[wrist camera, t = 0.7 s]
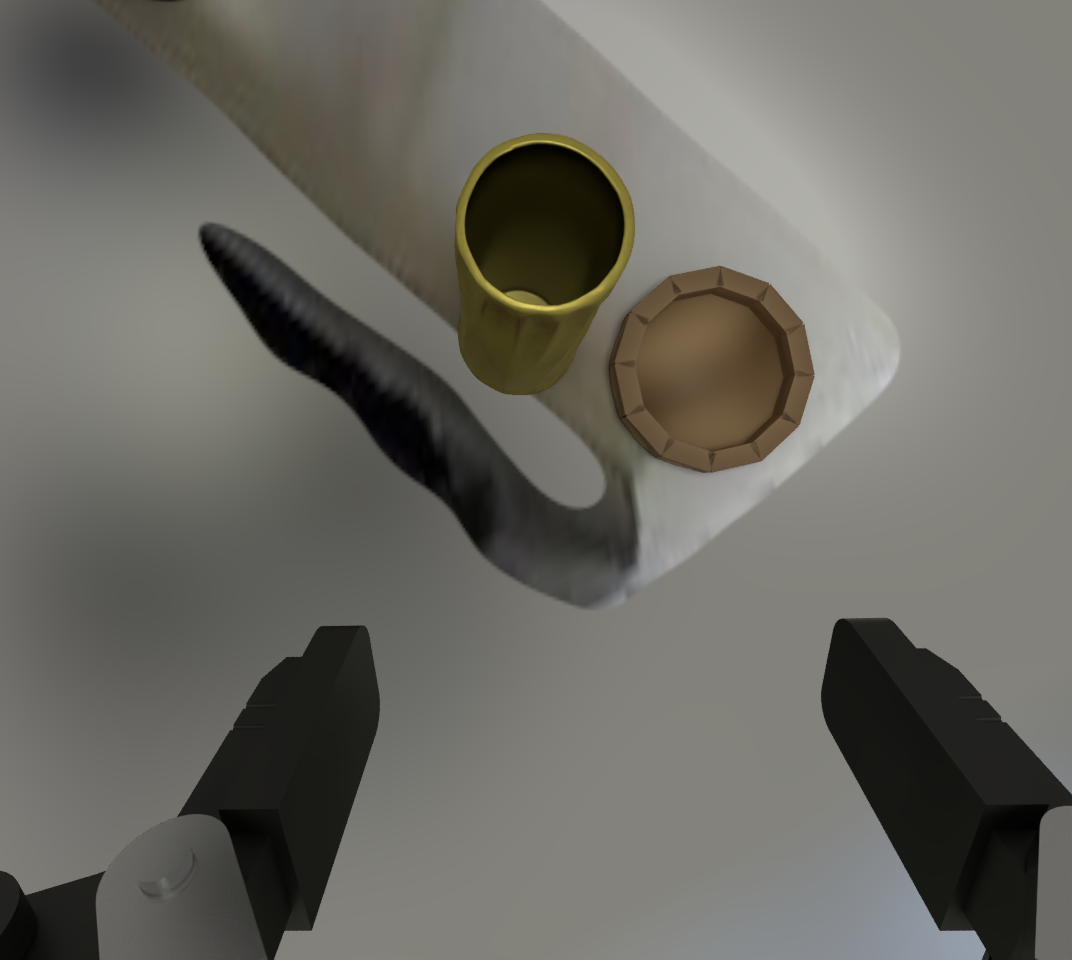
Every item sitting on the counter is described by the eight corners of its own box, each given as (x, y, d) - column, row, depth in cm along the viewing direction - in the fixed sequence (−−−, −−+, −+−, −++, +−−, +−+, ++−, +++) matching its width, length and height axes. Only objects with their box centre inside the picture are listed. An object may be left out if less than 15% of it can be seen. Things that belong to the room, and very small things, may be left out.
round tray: (570, 367, 32) (576, 360, 30) (709, 241, 32) (722, 227, 31) (696, 508, 32) (709, 510, 31) (830, 382, 33) (850, 377, 31)
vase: (451, 387, 31) (425, 315, 17) (465, 268, 31) (451, 97, 17) (569, 402, 32) (638, 344, 18) (582, 285, 32) (663, 133, 18)
